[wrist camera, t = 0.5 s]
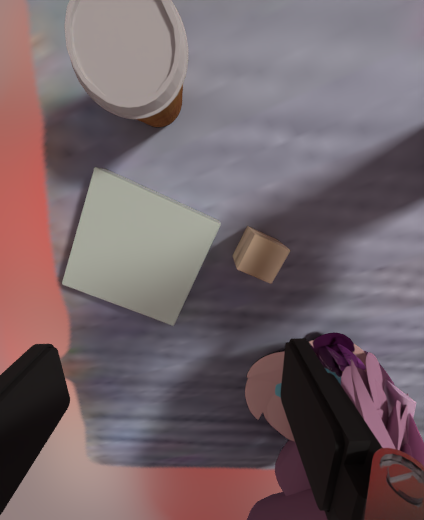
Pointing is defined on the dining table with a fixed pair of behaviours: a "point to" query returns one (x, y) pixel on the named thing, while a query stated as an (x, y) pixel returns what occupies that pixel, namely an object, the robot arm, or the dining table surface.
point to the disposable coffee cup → (129, 56)
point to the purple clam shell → (363, 397)
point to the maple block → (260, 255)
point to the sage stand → (137, 247)
